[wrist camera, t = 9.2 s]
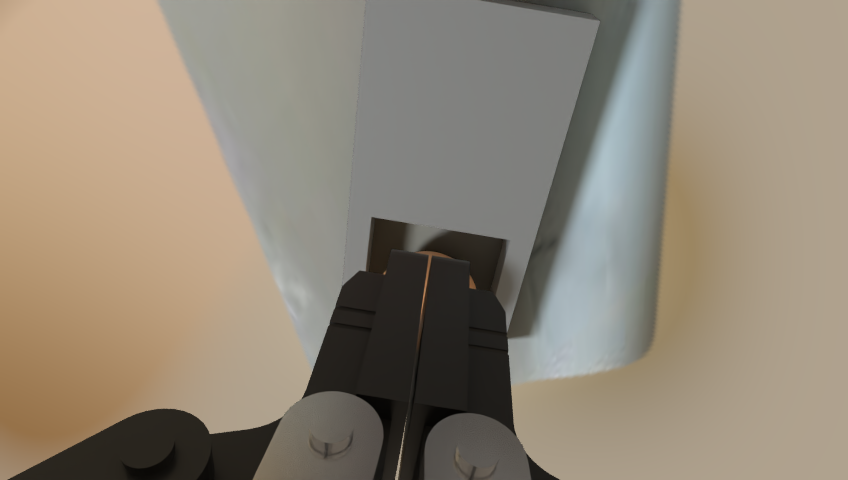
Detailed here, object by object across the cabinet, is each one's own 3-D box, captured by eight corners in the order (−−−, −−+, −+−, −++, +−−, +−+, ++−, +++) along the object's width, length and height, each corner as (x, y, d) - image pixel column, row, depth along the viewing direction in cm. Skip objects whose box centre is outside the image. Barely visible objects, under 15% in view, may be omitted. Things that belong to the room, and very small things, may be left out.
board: (375, -24, 29) (367, -19, 27) (591, 13, 29) (600, 21, 27) (344, 315, 42) (337, 336, 40) (496, 340, 42) (498, 363, 40)
